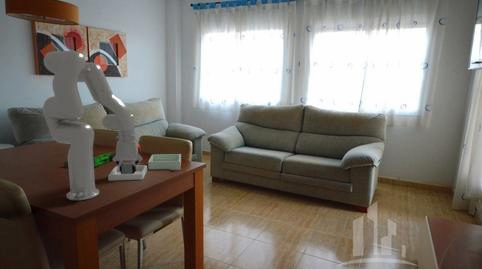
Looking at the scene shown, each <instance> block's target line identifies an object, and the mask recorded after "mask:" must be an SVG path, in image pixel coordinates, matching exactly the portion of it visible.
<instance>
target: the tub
mask: <svg viewBox="0 0 482 269" xmlns="http://www.w3.org/2000/svg"><path fill="white" fill-rule="evenodd" d="M147 171H148V164H147V165H145V164H144V165H136V172H135V173H134V174H121V172H120V168H119V165H116V166H115V167H114V168H113V169H112V170H111V171H110V172H109V174H107V177H108V181H134V180H135V181H137V180H143V179H144V178H145V176H146V174H147Z"/></svg>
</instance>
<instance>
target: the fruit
mask: <svg viewBox="0 0 482 269" xmlns="http://www.w3.org/2000/svg"><path fill="white" fill-rule="evenodd" d="M136 142H137V148H138V154H139V155H140V154H141V151H142V148H141V145H140V144H139V143H138V140H136Z"/></svg>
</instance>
